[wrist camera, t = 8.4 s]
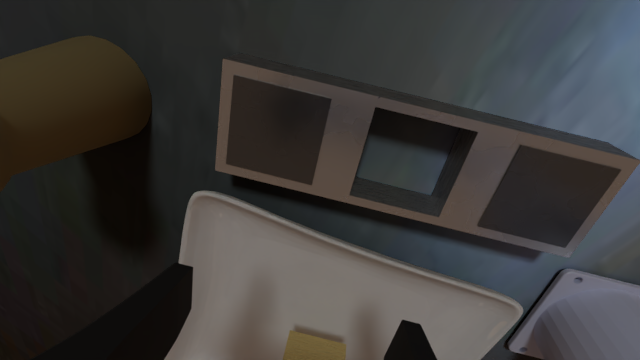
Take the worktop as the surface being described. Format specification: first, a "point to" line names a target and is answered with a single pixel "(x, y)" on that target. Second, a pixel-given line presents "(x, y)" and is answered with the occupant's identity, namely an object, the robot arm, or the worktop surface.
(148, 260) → the worktop surface
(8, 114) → the cork
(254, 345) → the salad plate
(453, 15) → the worktop surface
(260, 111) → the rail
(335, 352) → the yellow rectangular block
